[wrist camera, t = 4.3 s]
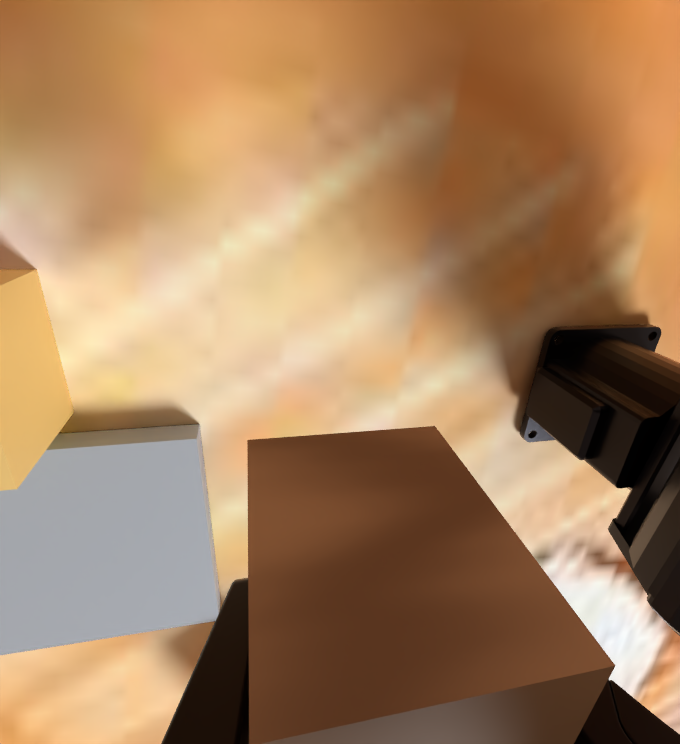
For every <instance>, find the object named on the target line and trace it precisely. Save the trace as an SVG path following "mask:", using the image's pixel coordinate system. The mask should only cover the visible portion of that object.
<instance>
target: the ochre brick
mask: <svg viewBox="0 0 680 744" xmlns="http://www.w3.org/2000/svg"><path fill="white" fill-rule="evenodd" d="M73 413H74V409H73V406H72V402H71V398H70V394H69V390H68V387H67V383H66V379H65V375H64V371H63V368H62V364H61V360H60V356H59V352H58V348H57V345H56V341H55V337H54V333H53V329H52V326H51V322H50V318H49V314H48V310H47V307H46V303H45V299H44V295H43V291H42V288H41V284H40V280H39V276H38V272H37V269H0V491H3V490H14V489H18V487H19V486H20V485H21V483H22V482H23V481H24V479H25V478H26V477H27V475H28V474H29V473H30V471H31V470H32V468H33V467H34V466H35V464H36V463H37V462H38V460H39V459H40V458H41V456H42V455H43V454H44V452H45V451H46V449H47V448H48V447H49V445H50V444H51V443H52V441H53V440H54V439H55V437H56V436H57V434H58V433H59V432H60V430H61V429H62V428H63V426H64V425H65V424H66V422H67V421H68V420H69V418H70V417H71V415H72V414H73Z"/></svg>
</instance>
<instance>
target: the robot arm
mask: <svg viewBox="0 0 680 744" xmlns="http://www.w3.org/2000/svg"><path fill="white" fill-rule="evenodd" d="M557 336H558V338H557V340H555V338H556V337H557ZM660 336H661V329H660V328H659V327H656V326H653V325H649V324H648V325H615V326H581V327H555V328H552V329H550V330H549V331H548V332H547V333H546V336H545V338H544V342H543V346H542V350H541V354H540V357H539V361H538V365H537V369H536V373H535V376H534V380H533V384H532V388H531V392H530V395H529V399H528V403H527V407H526V411H525V415H524V418H523V422H522V426H521V430H520V435H521V437H522V438H523V439H524V440H526V441H527V442H537V441H548V440H557V441H558V442H559V443H560V444H561V445H562V446H564V447H565V448H566V449H567V450H568V451H569V452H571V453H572V454H573V455H574V456H575V457H577V458H578V459H579V460H585V461H586V462H587V463H588V464H589V465H591V466H592V467H593V468H594V469H595V470H597V471H598V472H599V473H600V474H601V475H602V476H604V477H605V478H606V479H607V480H608V481H610V482H611V483H612V484H613V485H614V486H616V487H617V488H628V489H630V490H631V491H630V493H629V495H628V497H627V499H626V501H625V503H624V504H623V506H622V508H621V510H620V512H619V514H618V516H617V518H614V519H613V520H612V522H611V524H610V526H609V528H608V530H609V532H610V534H611V535H612V537H613V539H614V540H615V542H616V544H617V545H618V547H619V549H620V550H621V552H622V554H623V555H624V557H625V558H626V560H627V562H628V563H629V565H630V567H631V568H632V570H633V572H634V573H635V575H636V577H637V578H638V580H639V582H640V583H641V585H642V587H643V588H644V590H645V591H646V593H647V595H648V597H647V601H648V603H649V604H650V606H651V607H652V609H653V610H654V611H655V612H656V613H657V614H658V615H659V616H660V617H661V618H662V619H663V620H664V621H665V622H666V623H667V624H668V625H669V626H670V627H671V628H672V629H673V630H674V631H675V632H676V633H677V634H678V635H679V636H680V363H678V362H676V361H674V360H671V359H669V358H667V357H664V356H662V355H660V354H657V353H655V349H656V346H657V344H658V341H659V339H660ZM554 340H555V341H554ZM531 431H532V432H531ZM530 432H531V433H530ZM529 433H530V434H529ZM161 744H249V605H248V578H244V579H237V580H235V581H234V582H233V583H232V585H231V587H230V589H229V592H228V594H227V596H226V598H225V601H224V603H223V605H222V607H221V610H220V612H219V614H218V616H217V619H216V621H215V623H214V626H213V628H212V630H211V632H210V635H209V637H208V639H207V641H206V644H205V646H204V648H203V650H202V653H201V655H200V657H199V659H198V662H197V664H196V666H195V669H194V671H193V673H192V675H191V678H190V680H189V682H188V684H187V687H186V689H185V691H184V693H183V696H182V698H181V700H180V703H179V705H178V707H177V709H176V712H175V714H174V716H173V718H172V721H171V723H170V725H169V727H168V730H167V732H166V734H165V736H164V739H163V741H162V743H161ZM574 744H680V734H678V733H677V732H676V731H674V730H673V729H672V728H670V727H669V726H668V725H666V724H665V723H664V722H663V721H661V720H660V719H659V718H658V717H656V716H655V715H654V714H653V713H651V712H650V711H649V710H648V709H646V708H645V707H644V706H643V705H641V704H640V703H639V702H638V701H636V700H635V699H634V698H633V697H632V696H630V695H629V694H628V693H627V692H626V691H624V690H623V689H622V688H621V687H620V686H618V685H617V684H616V683H615V682H614V681H612V680H610V681H609V679H608V680H607V682H606V684H605V686H604V688H603V690H602V692H601V694H600V695H599V697H598V699H597V701H596V703H595V705H594V707H593V709H592V710H591V712H590V714H589V716H588V718H587V720H586V722H585V724H584V725H583V727H582V729H581V731H580V733H579V735H578V737H577V739H576V740H575V742H574Z"/></svg>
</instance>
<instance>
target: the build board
mask: <svg viewBox="0 0 680 744" xmlns="http://www.w3.org/2000/svg"><path fill="white" fill-rule="evenodd" d="M220 602H221V600H220V592H219V583H218V575H217V567H216V558H215V550H214V542H213V533H212V525H211V517H210V508H209V500H208V492H207V483H206V475H205V467H204V458H203V450H202V442H201V433H200V425H199V424H193V425H178V426H164V427H149V428H135V429H120V430H106V431H91V432H77V433H62V434H57V436H56V437H55V439H54V440H53V441H52V443H51V444H50V445H49V447H48V448H47V449H46V451H45V452H44V454H43V455H42V456H41V458H40V459H39V460H38V462H37V463H36V464H35V466H34V467H33V468H32V470H31V471H30V473H29V474H28V475H27V477H26V478H25V479H24V481H23V482H22V483H21V485H20V486H19V487H18V489H14V490H3V491H0V655H5V654H11V653H18V652H24V651H30V650H36V649H43V648H49V647H55V646H61V645H68V644H74V643H80V642H87V641H93V640H99V639H105V638H112V637H118V636H124V635H130V634H137V633H143V632H149V631H156V630H162V629H168V628H174V627H181V626H187V625H193V624H200V623H206V622H212V621H216V619H217V616H218V614H219V612H220Z"/></svg>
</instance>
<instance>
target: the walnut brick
mask: <svg viewBox="0 0 680 744" xmlns="http://www.w3.org/2000/svg"><path fill="white" fill-rule="evenodd" d="M248 605H249V744H574V742H575V740H576V739H577V737H578V735H579V733H580V731H581V729H582V727H583V725H584V724H585V722H586V720H587V718H588V716H589V714H590V712H591V710H592V709H593V707H594V705H595V703H596V701H597V699H598V697H599V695H600V694H601V692H602V690H603V688H604V686H605V684H606V682H607V680H608V679H609V677H610V675H611V673H612V671H613V669H614V667H615V665H614V663H613V662H612V661H611V659H610V658H609V657H608V655H607V654H606V653H605V651H604V650H603V649H602V647H601V646H600V645H599V643H598V642H597V641H596V639H595V638H594V637H593V636H592V634H591V633H590V632H589V630H588V629H587V628H586V626H585V625H584V624H583V622H582V621H581V620H580V618H579V617H578V616H577V614H576V613H575V612H574V610H573V609H572V608H571V606H570V605H569V604H568V602H567V601H566V600H565V598H564V597H563V596H562V594H561V593H560V592H559V590H558V589H557V588H556V586H555V585H554V584H553V582H552V581H551V580H550V578H549V577H548V576H547V574H546V573H545V572H544V570H543V569H542V568H541V566H540V565H539V564H538V562H537V561H536V560H535V558H534V557H533V556H532V554H531V553H530V552H529V551H528V549H527V548H526V547H525V545H524V544H523V543H522V541H521V540H520V539H519V537H518V536H517V535H516V533H515V532H514V531H513V529H512V528H511V527H510V525H509V524H508V523H507V521H506V520H505V519H504V517H503V516H502V515H501V513H500V512H499V511H498V509H497V508H496V507H495V505H494V504H493V503H492V501H491V500H490V499H489V497H488V496H487V495H486V493H485V492H484V491H483V489H482V488H481V487H480V485H479V484H478V483H477V481H476V480H475V479H474V477H473V476H472V475H471V473H470V472H469V471H468V469H467V468H466V467H465V466H464V464H463V463H462V462H461V460H460V459H459V458H458V456H457V455H456V454H455V452H454V451H453V450H452V448H451V447H450V446H449V444H448V443H447V442H446V440H445V439H444V438H443V436H442V435H441V434H440V432H439V431H438V430H437V428H436V427H435V426H431V427H418V428H404V429H391V430H377V431H364V432H350V433H337V434H323V435H310V436H296V437H283V438H269V439H256V440H248Z"/></svg>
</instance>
